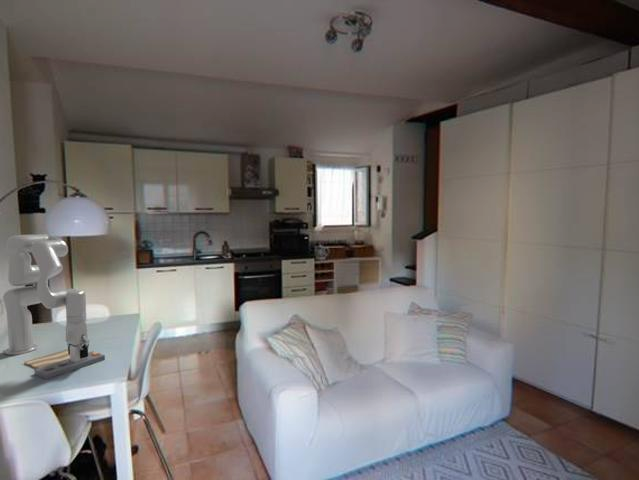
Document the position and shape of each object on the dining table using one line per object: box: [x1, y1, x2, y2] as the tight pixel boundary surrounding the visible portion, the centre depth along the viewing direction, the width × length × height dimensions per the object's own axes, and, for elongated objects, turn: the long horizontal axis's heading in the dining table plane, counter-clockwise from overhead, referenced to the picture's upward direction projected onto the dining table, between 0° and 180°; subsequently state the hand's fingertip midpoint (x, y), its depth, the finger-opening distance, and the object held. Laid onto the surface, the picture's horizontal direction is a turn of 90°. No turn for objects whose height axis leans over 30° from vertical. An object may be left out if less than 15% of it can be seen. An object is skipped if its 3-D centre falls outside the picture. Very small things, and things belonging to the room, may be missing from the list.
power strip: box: [33, 351, 106, 380], centre depth 164 cm, size 10×24×3 cm, turn 150°
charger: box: [70, 344, 87, 363], centre depth 166 cm, size 5×5×10 cm
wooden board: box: [24, 348, 70, 369], centre depth 171 cm, size 14×18×1 cm
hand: (78, 355), depth 166 cm, fingers open, 9 cm apart
